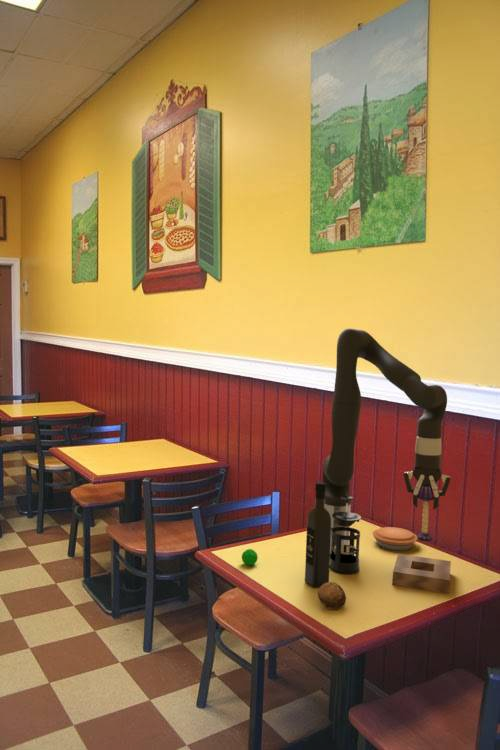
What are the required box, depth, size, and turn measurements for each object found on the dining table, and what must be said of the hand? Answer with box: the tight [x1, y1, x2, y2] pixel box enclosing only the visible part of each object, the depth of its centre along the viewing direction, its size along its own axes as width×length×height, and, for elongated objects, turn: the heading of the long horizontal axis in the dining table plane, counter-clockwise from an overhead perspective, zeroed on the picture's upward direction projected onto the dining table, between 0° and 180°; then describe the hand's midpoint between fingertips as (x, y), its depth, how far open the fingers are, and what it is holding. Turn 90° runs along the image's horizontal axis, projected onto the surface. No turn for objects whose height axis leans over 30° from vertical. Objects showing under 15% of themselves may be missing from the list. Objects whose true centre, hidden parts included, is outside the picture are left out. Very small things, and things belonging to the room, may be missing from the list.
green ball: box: [241, 548, 259, 566], centre depth 193 cm, size 5×5×5 cm
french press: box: [329, 495, 362, 575], centre depth 192 cm, size 12×9×23 cm
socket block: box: [391, 553, 452, 595], centre depth 186 cm, size 16×16×4 cm
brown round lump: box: [317, 581, 347, 611], centre depth 166 cm, size 8×8×6 cm
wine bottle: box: [304, 481, 331, 588], centre depth 179 cm, size 6×6×30 cm
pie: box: [372, 526, 418, 552], centre depth 216 cm, size 16×16×5 cm
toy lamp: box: [417, 485, 434, 542], centre depth 185 cm, size 5×5×17 cm
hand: (425, 507), depth 185 cm, fingers closed on toy lamp, 4 cm apart
